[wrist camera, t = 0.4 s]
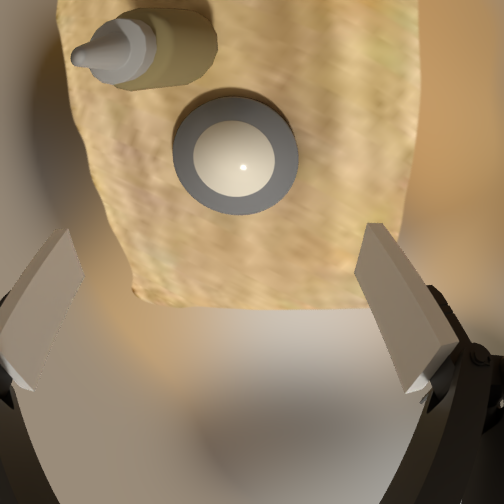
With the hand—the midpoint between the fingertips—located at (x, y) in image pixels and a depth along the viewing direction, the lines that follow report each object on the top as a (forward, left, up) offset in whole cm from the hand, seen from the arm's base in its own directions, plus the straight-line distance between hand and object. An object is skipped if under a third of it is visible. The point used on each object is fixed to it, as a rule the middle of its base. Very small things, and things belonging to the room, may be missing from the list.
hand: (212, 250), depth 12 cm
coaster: (+5, +1, -22) cm, 22 cm away
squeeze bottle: (+1, -12, -22) cm, 25 cm away
